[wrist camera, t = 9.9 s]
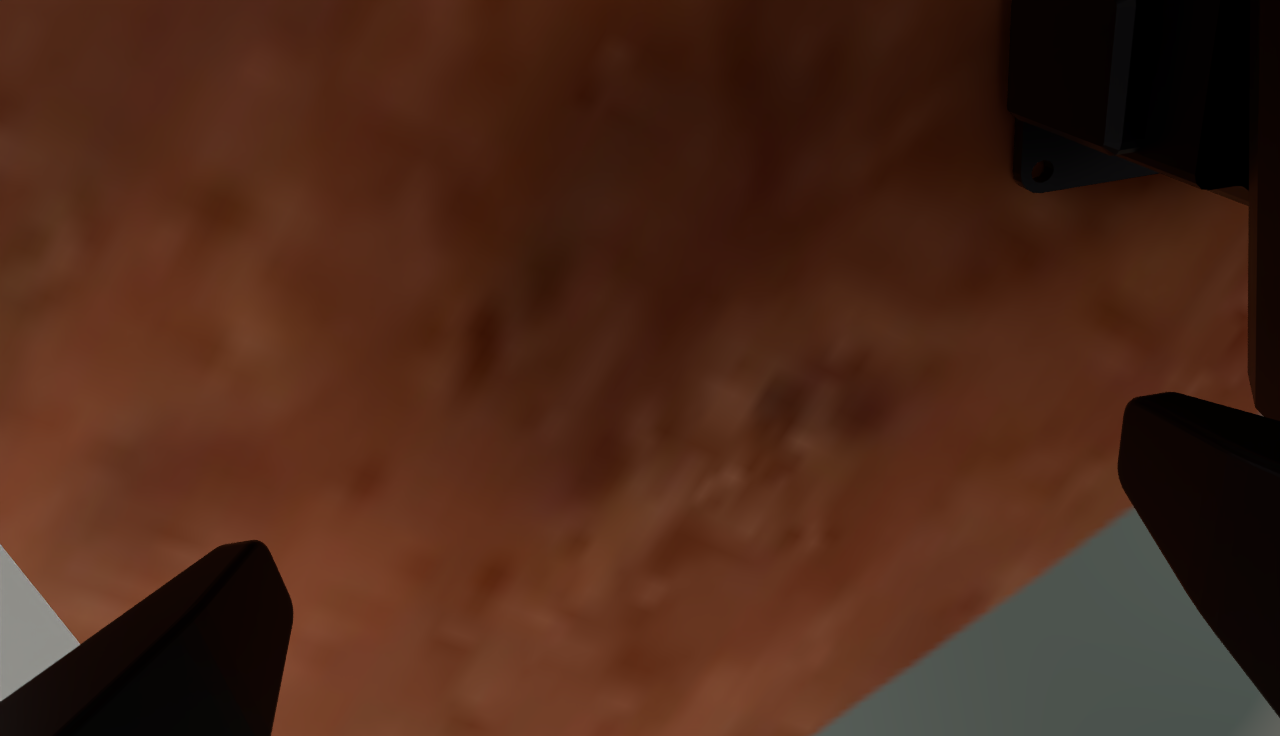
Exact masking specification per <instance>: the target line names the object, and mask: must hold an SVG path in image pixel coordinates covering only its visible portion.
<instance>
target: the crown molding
mask: <svg viewBox="0 0 1280 736" xmlns="http://www.w3.org/2000/svg"><path fill="white" fill-rule="evenodd" d="M79 645H80V643H79V642H78V641H77V640H76V638H75V637H74V636H73V635H72V633H71V632H70V631H69V630H68V628H67V627H66V626H65V625H64V623H63V622H62V621H61V620H60V618H59V617H58V616H57V615H56V613H55V612H54V611H53V610H52V608H51V607H50V606H49V605H48V603H47V602H46V601H45V600H44V598H43V597H42V596H41V595H40V593H39V592H38V591H37V590H36V588H35V587H34V586H33V585H32V583H31V582H30V581H29V580H28V578H27V577H26V576H25V575H24V573H23V572H22V571H21V570H20V568H19V567H18V566H17V565H16V563H15V562H14V561H13V560H12V558H11V557H10V556H9V555H8V553H7V552H6V551H5V550H4V548H3V547H2V546H1V545H0V701H2V700H3V699H5V698H6V697H7V696H9V695H10V694H12V693H13V692H14V691H16V690H17V689H19V688H20V687H21V686H23V685H24V684H26V683H27V682H28V681H30V680H31V679H33V678H34V677H35V676H37V675H38V674H40V673H41V672H42V671H44V670H45V669H47V668H48V667H49V666H51V665H52V664H54V663H55V662H56V661H58V660H59V659H61V658H62V657H64V656H65V655H66V654H68V653H69V652H71V651H72V650H73V649H75V648H76V647H78V646H79Z"/></svg>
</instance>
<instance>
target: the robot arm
mask: <svg viewBox="0 0 1280 736" xmlns="http://www.w3.org/2000/svg"><path fill="white" fill-rule="evenodd" d="M1007 109H1008V111H1009V112H1010V113H1011V114H1012V115H1014V116H1015V135H1014V156H1013V175H1014V179H1015V181H1016V182H1017V184H1018V185H1020V186H1021V187H1023V188H1025V189H1027V190H1029V191H1031V192H1033V193H1044V192H1050V191H1056V190H1062V189H1068V188H1074V187H1080V186H1086V185H1092V184H1098V183H1104V182H1110V181H1116V180H1122V179H1128V178H1134V177H1140V176H1146V175H1152V174H1158V173H1161V174H1164V175H1167V176H1169V177H1172V178H1174V179H1177V180H1179V181H1182V182H1185V183H1187V184H1190V185H1192V186H1195V187H1197V188H1200V189H1205V190H1208V191H1211V192H1213V193H1216V194H1219V195H1221V196H1224V197H1226V198H1229V199H1232V200H1234V201H1237V202H1239V203H1242V204H1244V205H1247V206H1249V247H1248V376H1249V381H1250V385H1251V390H1252V395H1253V399H1254V404H1255V408H1256V409H1257V410H1258V411H1259V412H1260V413H1261V414H1262V415H1263V416H1264V417H1263V416H1260V415H1256V414H1252V413H1249V412H1245V411H1242V410H1238V409H1234V408H1231V407H1227V406H1224V405H1220V404H1216V403H1213V402H1209V401H1206V400H1202V399H1198V398H1195V397H1191V396H1187V395H1184V394H1180V393H1176V392H1165V393H1159V394H1153V395H1147V396H1140V397H1136V398H1133V399H1132V400H1131V401H1130V402H1129V403H1128V404H1127V406H1126V408H1125V411H1124V416H1123V424H1122V432H1121V441H1120V449H1119V457H1118V475H1119V479H1120V483H1121V485H1122V487H1123V489H1124V491H1125V493H1126V495H1127V496H1128V498H1129V500H1130V501H1131V503H1132V505H1133V506H1134V508H1135V509H1136V511H1137V513H1138V514H1139V516H1140V518H1141V519H1142V521H1143V522H1144V524H1145V526H1146V527H1147V529H1148V531H1149V532H1150V534H1151V536H1152V537H1153V539H1154V541H1155V542H1156V544H1157V545H1158V547H1159V549H1160V550H1161V552H1162V554H1163V555H1164V557H1165V558H1166V560H1167V562H1168V563H1169V565H1170V567H1171V568H1172V570H1173V572H1174V573H1175V575H1176V577H1177V578H1178V580H1179V581H1180V583H1181V585H1182V586H1183V588H1184V590H1185V591H1186V593H1187V594H1188V596H1189V597H1190V599H1191V600H1192V602H1193V603H1194V605H1195V606H1196V608H1197V609H1198V611H1199V612H1200V614H1201V615H1202V616H1203V618H1204V619H1205V621H1206V622H1207V623H1208V625H1209V626H1210V627H1211V629H1212V630H1213V632H1214V633H1215V634H1216V636H1217V637H1218V638H1219V639H1220V641H1221V642H1222V643H1223V645H1224V646H1225V647H1226V648H1227V650H1228V651H1229V652H1230V654H1231V655H1232V656H1233V658H1234V659H1235V660H1236V662H1237V663H1238V664H1239V666H1240V667H1241V668H1242V669H1243V671H1244V672H1245V673H1246V675H1247V676H1248V677H1249V679H1250V680H1251V681H1252V682H1253V683H1254V685H1255V686H1256V688H1257V689H1258V690H1259V692H1260V693H1261V694H1262V695H1263V697H1264V698H1265V699H1266V701H1267V702H1268V703H1269V705H1270V706H1271V707H1272V709H1273V710H1274V711H1275V712H1276V714H1277V715H1278V716H1279V718H1280V0H1012V4H1011V28H1010V52H1009V75H1008V99H1007ZM1043 160H1044V161H1045V169H1044V171H1043V173H1042V174H1041V175H1040V176H1038V177H1036V178H1032V174H1031V173H1032V169H1033V167H1034V166H1035V165H1036V164H1037V163H1038V162H1040V161H1043ZM292 624H293V605H292V601H291V598H290V595H289V593H288V591H287V589H286V586H285V584H284V582H283V580H282V577H281V575H280V573H279V571H278V568H277V566H276V564H275V562H274V560H273V557H272V555H271V553H270V551H269V549H268V548H267V546H266V545H265V544H264V543H262V542H260V541H258V540H250V541H243V542H237V543H231V544H225V545H222V546H219V547H217V548H215V549H214V550H212V551H211V552H210V553H208V554H207V555H205V556H204V557H203V558H201V559H200V560H198V561H197V562H196V563H194V564H193V565H191V566H190V567H189V568H187V569H186V570H184V571H183V572H182V573H180V574H179V575H177V576H176V577H174V578H173V579H172V580H170V581H169V582H167V583H166V584H165V585H163V586H162V587H160V588H159V589H158V590H156V591H155V592H153V593H152V594H151V595H149V596H148V597H146V598H145V599H144V600H142V601H141V602H139V603H138V604H137V605H135V606H134V607H132V608H131V609H130V610H128V611H127V612H125V613H124V614H123V615H121V616H120V617H118V618H117V619H115V620H114V621H113V622H111V623H110V624H108V625H107V626H106V627H104V628H103V629H101V630H100V631H99V632H97V633H96V634H94V635H93V636H92V637H90V638H89V639H87V640H86V641H85V642H83V643H82V644H80V645H79V646H78V647H76V648H75V649H73V650H72V651H71V652H69V653H68V654H66V655H65V656H64V657H62V658H61V659H59V660H58V661H56V662H55V663H54V664H52V665H51V666H49V667H48V668H47V669H45V670H44V671H42V672H41V673H40V674H38V675H37V676H35V677H34V678H33V679H31V680H30V681H28V682H27V683H26V684H24V685H23V686H21V687H20V688H19V689H17V690H16V691H14V692H13V693H12V694H10V695H9V696H7V697H6V698H5V699H3V700H2V701H0V736H271V732H272V727H273V722H274V717H275V712H276V707H277V702H278V696H279V691H280V686H281V681H282V676H283V671H284V665H285V660H286V655H287V650H288V645H289V640H290V635H291V629H292Z"/></svg>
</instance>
